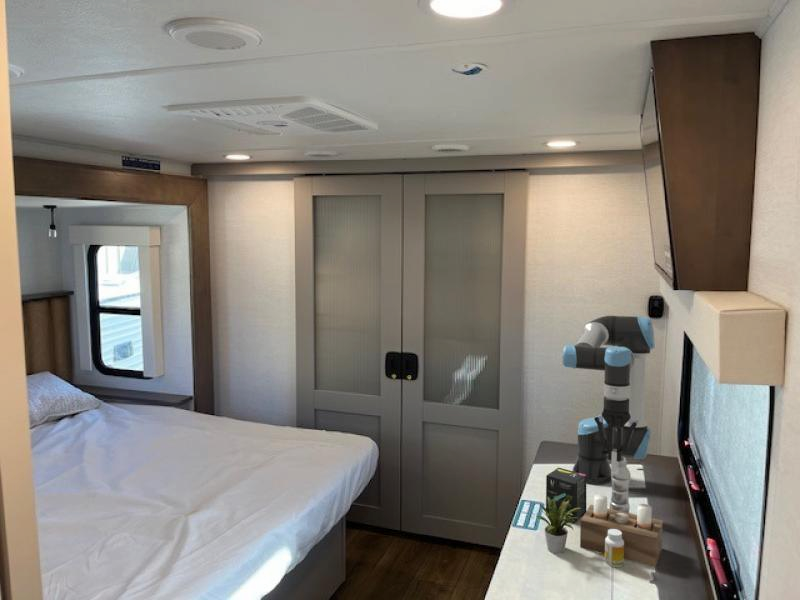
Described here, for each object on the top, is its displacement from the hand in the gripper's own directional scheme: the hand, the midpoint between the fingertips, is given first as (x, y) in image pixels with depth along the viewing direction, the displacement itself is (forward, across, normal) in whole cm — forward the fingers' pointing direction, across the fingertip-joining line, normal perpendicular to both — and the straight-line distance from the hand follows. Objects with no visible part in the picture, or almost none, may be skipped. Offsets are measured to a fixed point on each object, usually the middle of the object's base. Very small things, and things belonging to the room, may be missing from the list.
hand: (614, 470), depth 191 cm
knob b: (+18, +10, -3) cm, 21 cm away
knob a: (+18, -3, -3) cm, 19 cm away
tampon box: (+23, -18, +10) cm, 31 cm away
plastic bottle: (+23, -1, +19) cm, 30 cm away
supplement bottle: (+24, +3, -13) cm, 27 cm away
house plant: (+24, -14, -15) cm, 31 cm away
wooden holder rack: (+23, +3, -3) cm, 24 cm away
